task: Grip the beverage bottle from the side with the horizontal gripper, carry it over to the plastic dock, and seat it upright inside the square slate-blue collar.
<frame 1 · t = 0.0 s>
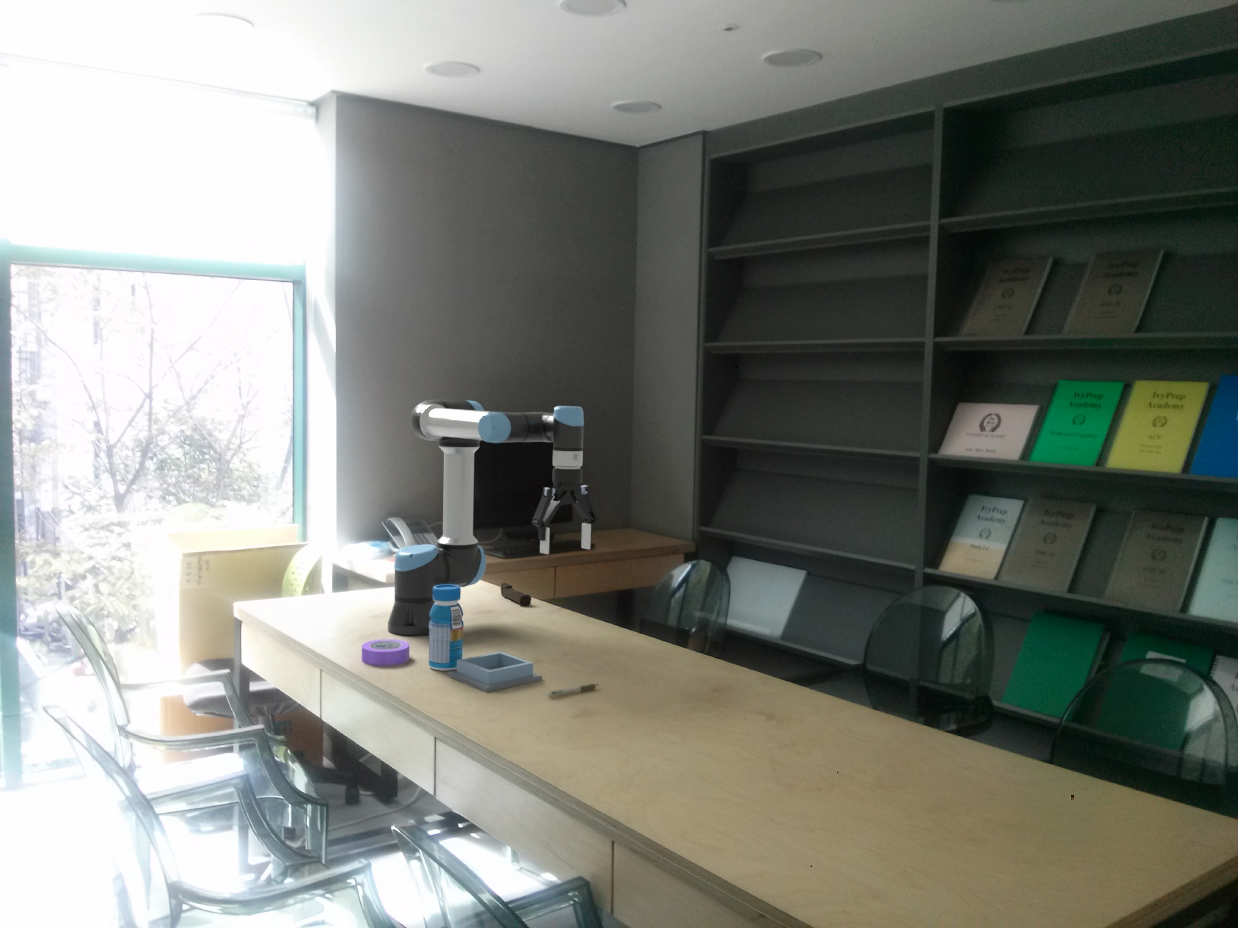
hand: (565, 551, 257), 28 cm above the table, tool pointing down, fingers open, 13 cm apart
beverage bottle: (445, 667, 250), on the table
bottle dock: (494, 677, 241), on the table
masking tape: (385, 660, 255), on the table
hand tool: (511, 601, 328), on the table
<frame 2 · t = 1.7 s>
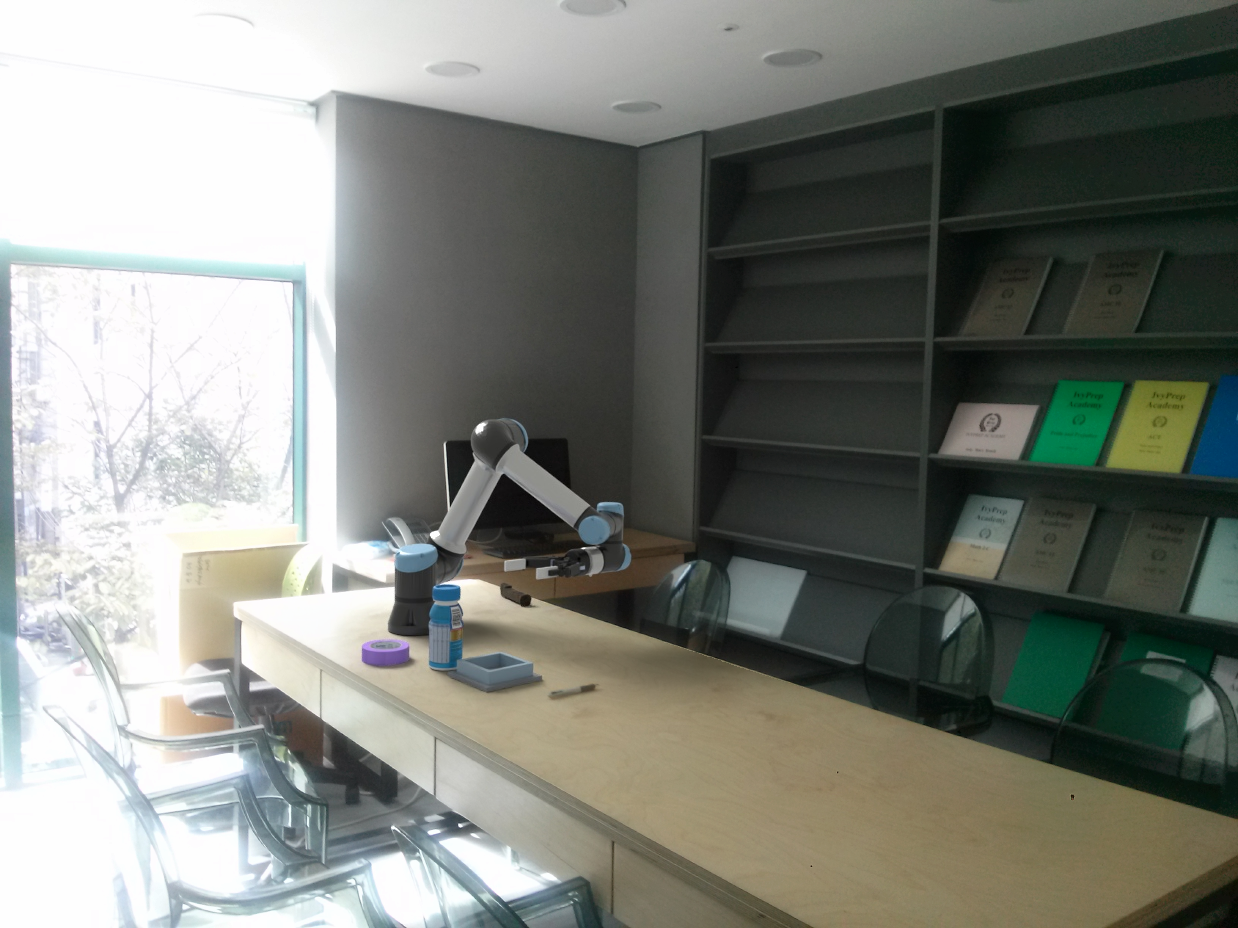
hand: (520, 570, 263), 22 cm above the table, tool horizontal, fingers open, 13 cm apart
nothing on the table moved.
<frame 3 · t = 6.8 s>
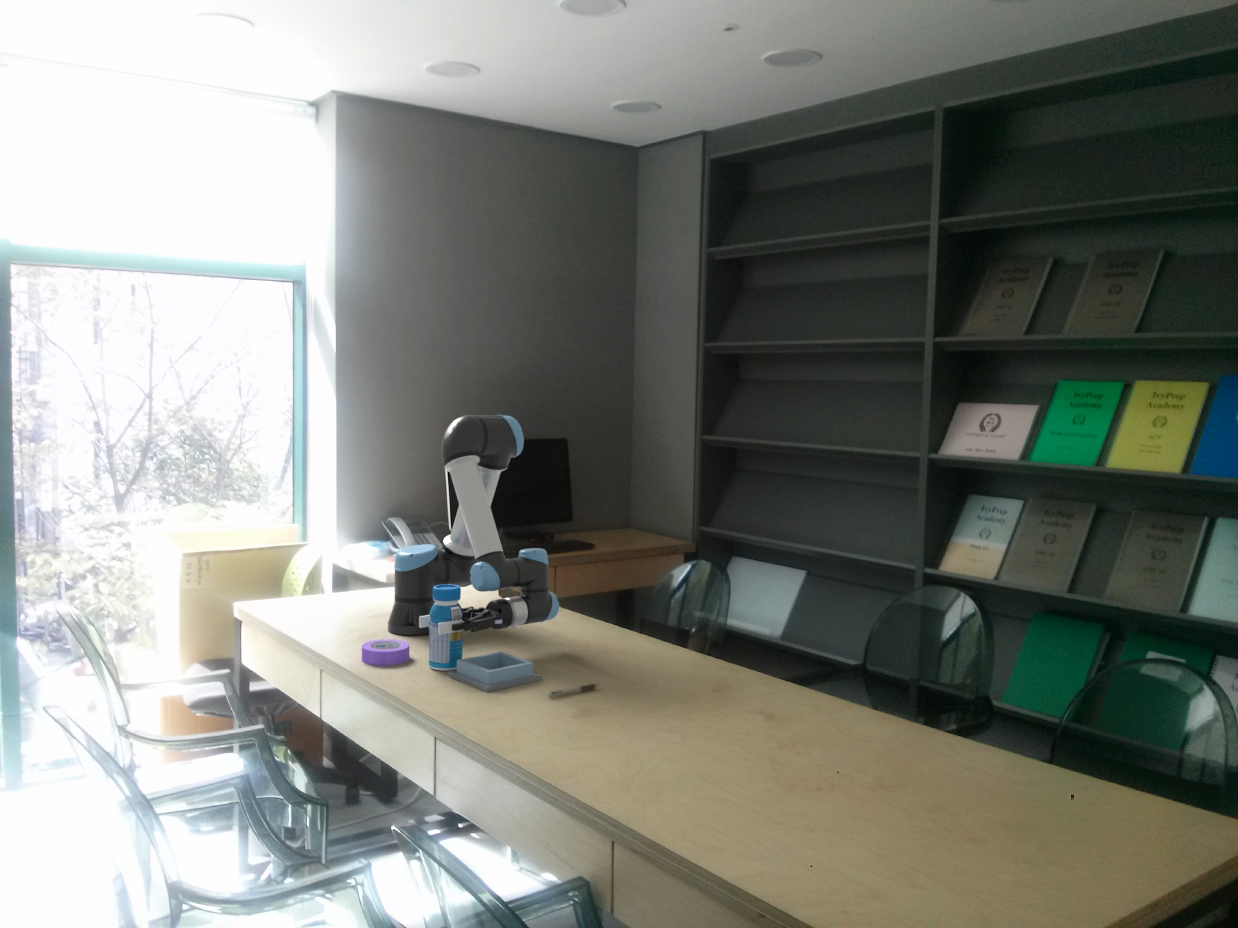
hand: (429, 625, 245), 11 cm above the table, tool horizontal, fingers closed on beverage bottle, 8 cm apart
beverage bottle: (445, 667, 250), on the table, touching gripper
everything else where it was.
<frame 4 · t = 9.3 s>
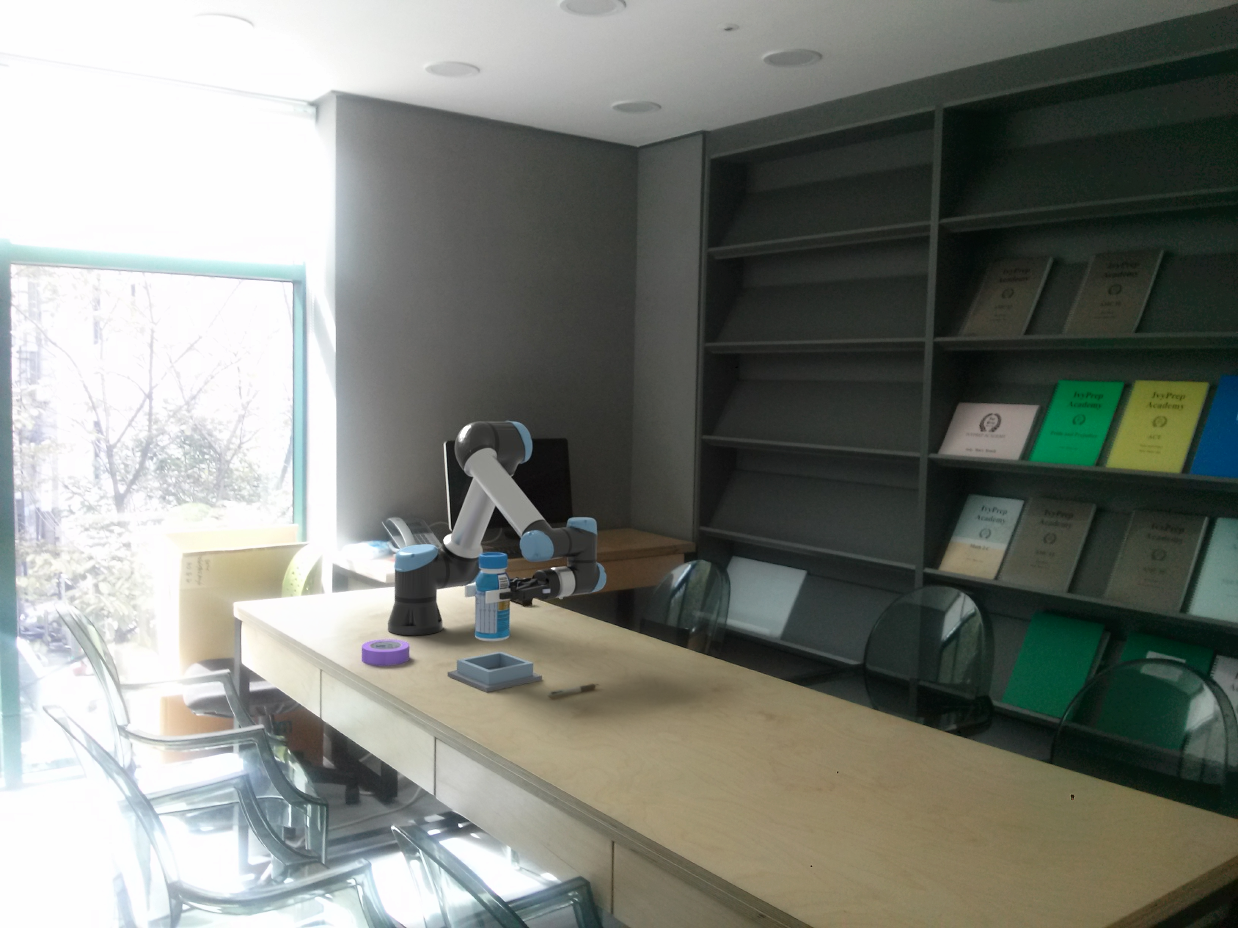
hand: (476, 594, 237), 21 cm above the table, tool horizontal, fingers closed on beverage bottle, 8 cm apart
beverage bottle: (492, 638, 241), point 9 cm above the table, touching gripper
everything else where it was.
when the fingers open (13 cm above the table, at t = 11.7 s): beverage bottle drops 1 cm, resting on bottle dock.
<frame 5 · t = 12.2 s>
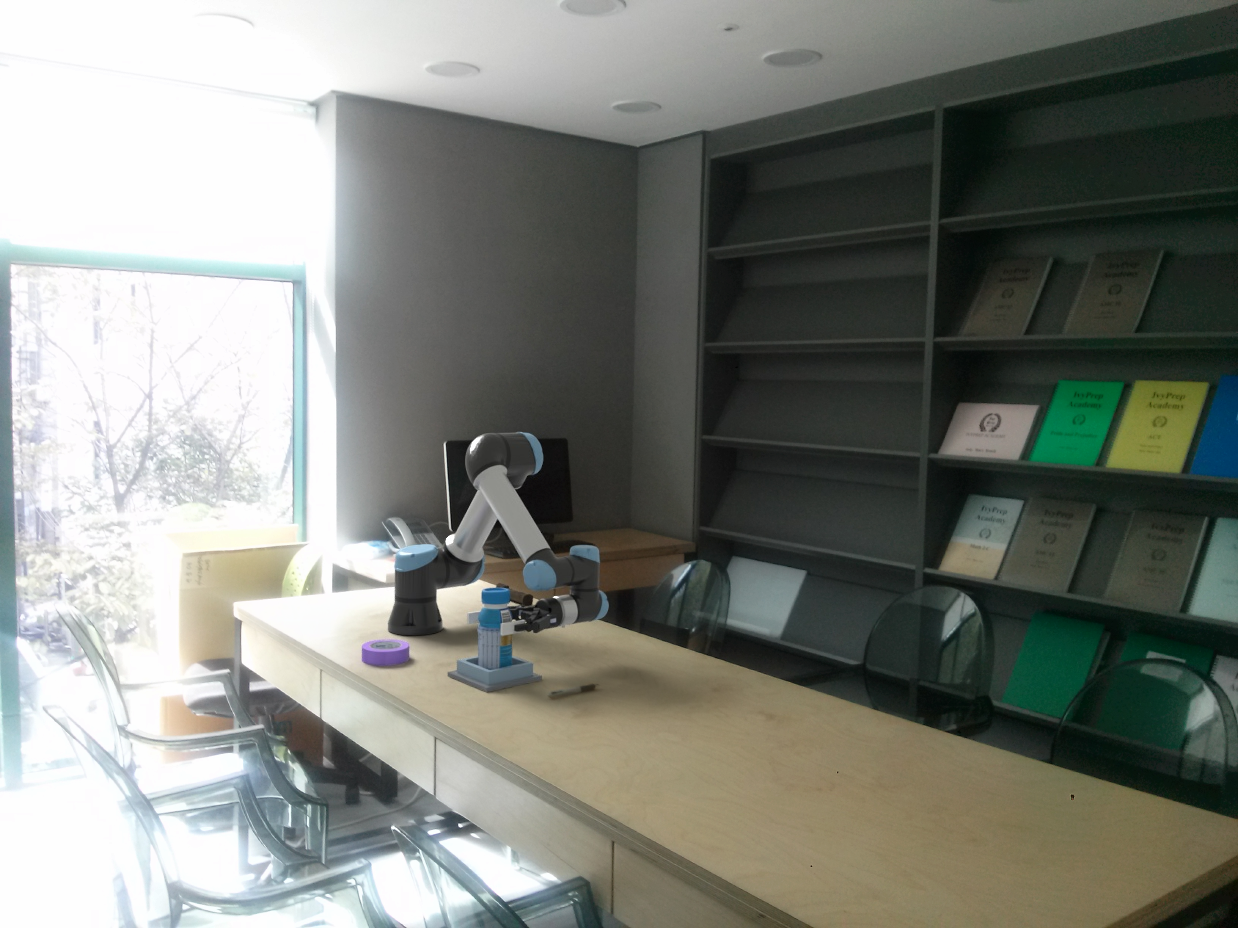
hand: (484, 623, 238), 13 cm above the table, tool horizontal, fingers open, 13 cm apart
beverage bottle: (494, 673, 241), point 1 cm above the table, touching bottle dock
everything else where it was.
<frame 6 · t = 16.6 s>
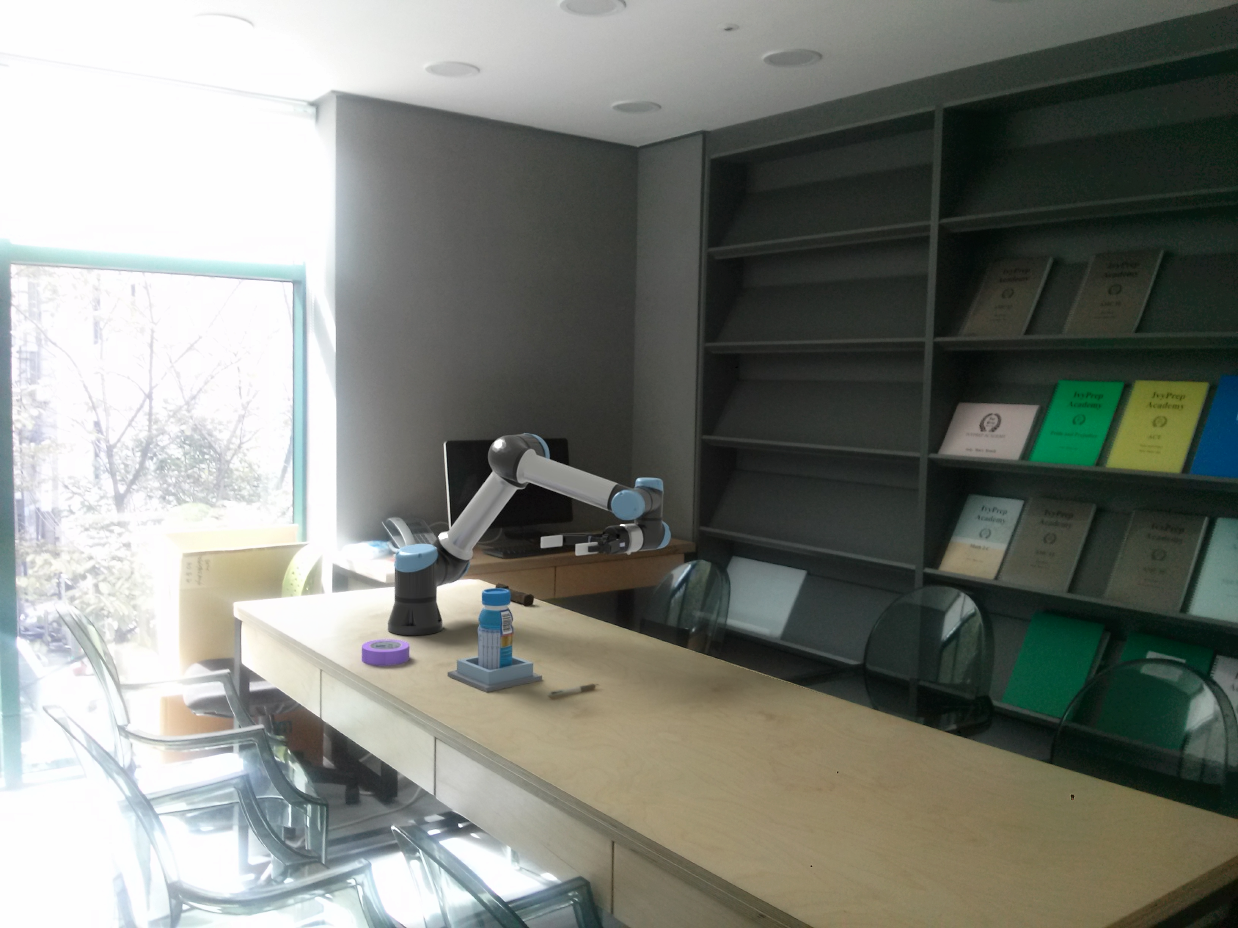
hand: (558, 546, 252), 30 cm above the table, tool horizontal, fingers open, 13 cm apart
at the end: beverage bottle 0.1 cm off-centre on the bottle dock, point 0.8 cm above the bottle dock's base; beverage bottle tilted 0°; the gripper is holding nothing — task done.
